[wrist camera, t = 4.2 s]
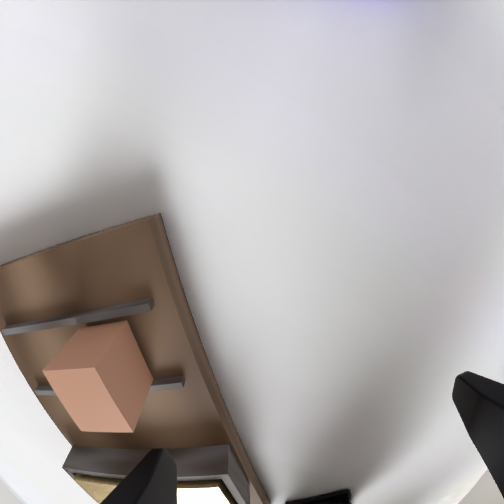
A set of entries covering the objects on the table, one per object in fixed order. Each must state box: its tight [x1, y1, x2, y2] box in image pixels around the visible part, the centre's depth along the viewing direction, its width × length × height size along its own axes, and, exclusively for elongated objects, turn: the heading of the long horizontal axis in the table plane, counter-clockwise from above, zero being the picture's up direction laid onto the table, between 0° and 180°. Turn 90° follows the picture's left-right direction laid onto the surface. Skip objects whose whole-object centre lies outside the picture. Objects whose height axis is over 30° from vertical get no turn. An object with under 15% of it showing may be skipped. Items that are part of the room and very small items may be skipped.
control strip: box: [0, 214, 270, 504], centre depth 16 cm, size 13×28×5 cm, turn 13°
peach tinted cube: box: [42, 320, 153, 432], centre depth 12 cm, size 3×4×4 cm
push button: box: [74, 473, 236, 504], centre depth 16 cm, size 11×4×2 cm, turn 103°
